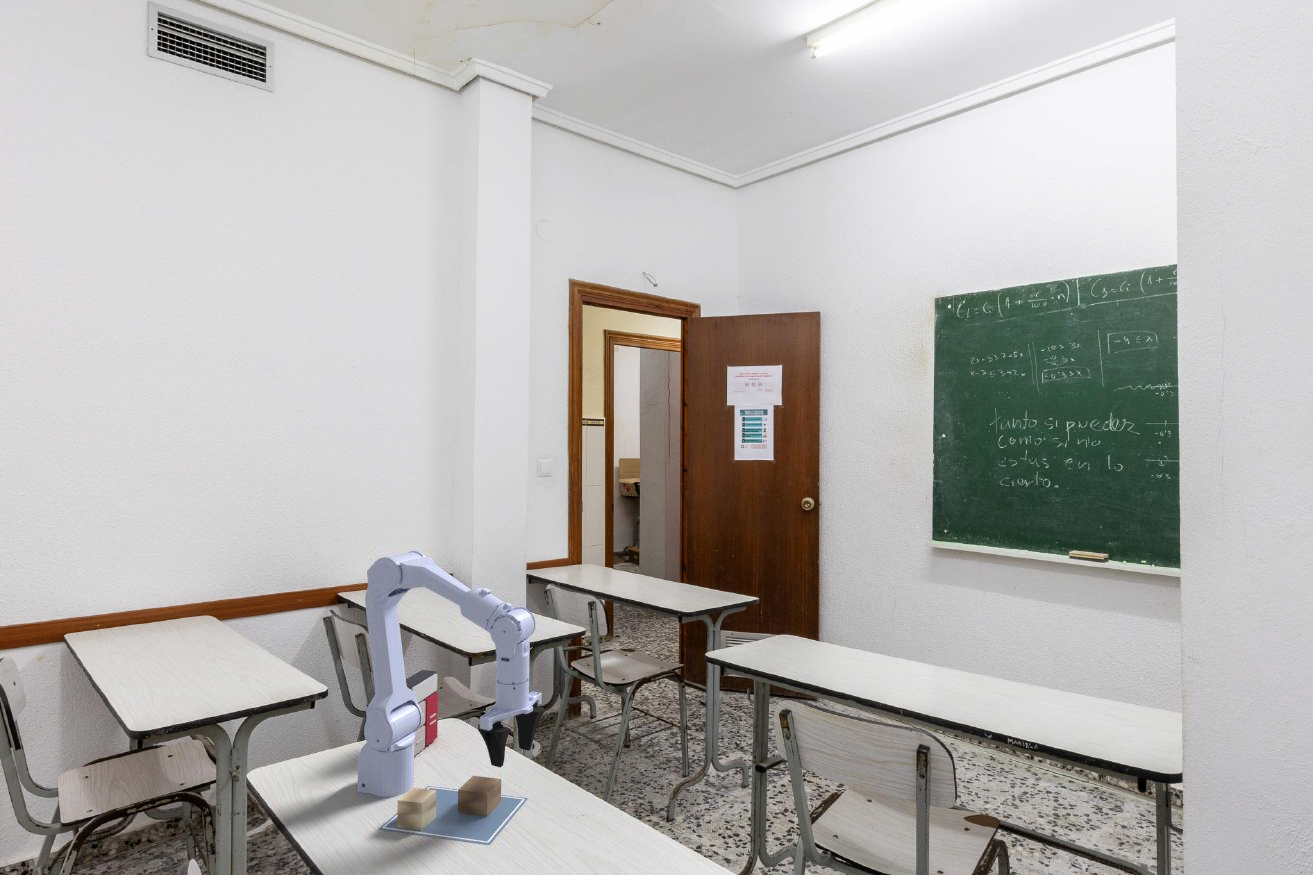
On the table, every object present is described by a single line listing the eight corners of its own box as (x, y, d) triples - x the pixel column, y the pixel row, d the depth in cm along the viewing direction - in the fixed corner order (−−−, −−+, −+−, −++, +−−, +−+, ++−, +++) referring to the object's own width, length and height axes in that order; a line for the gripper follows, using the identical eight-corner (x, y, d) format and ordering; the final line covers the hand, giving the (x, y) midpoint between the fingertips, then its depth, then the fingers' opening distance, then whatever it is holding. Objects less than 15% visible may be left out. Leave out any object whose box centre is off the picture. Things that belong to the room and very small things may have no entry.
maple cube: (397, 827, 118) (397, 799, 118) (412, 813, 122) (412, 787, 122) (421, 830, 117) (422, 803, 117) (435, 816, 121) (436, 790, 121)
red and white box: (412, 760, 145) (413, 686, 145) (393, 758, 146) (394, 685, 146) (439, 739, 156) (440, 670, 156) (421, 737, 157) (422, 669, 157)
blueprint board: (378, 833, 117) (378, 828, 117) (428, 790, 133) (428, 785, 133) (489, 849, 113) (489, 844, 113) (528, 802, 128) (528, 797, 128)
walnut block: (457, 813, 123) (458, 789, 123) (472, 797, 128) (473, 775, 128) (487, 816, 121) (487, 793, 122) (501, 801, 127) (501, 778, 127)
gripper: (503, 695, 117) (502, 778, 116) (555, 671, 129) (554, 746, 129) (470, 688, 120) (469, 769, 120) (524, 665, 133) (523, 738, 133)
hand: (511, 757), depth 125 cm, fingers open, 7 cm apart
